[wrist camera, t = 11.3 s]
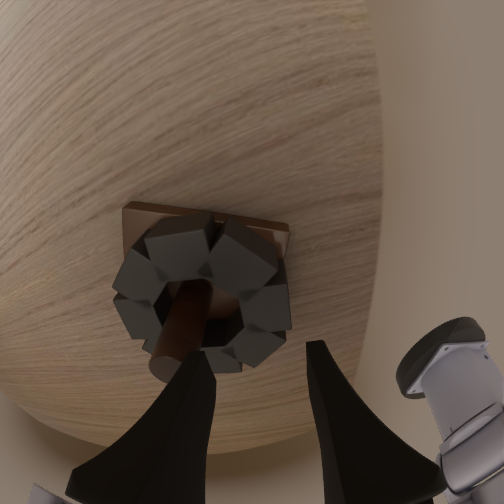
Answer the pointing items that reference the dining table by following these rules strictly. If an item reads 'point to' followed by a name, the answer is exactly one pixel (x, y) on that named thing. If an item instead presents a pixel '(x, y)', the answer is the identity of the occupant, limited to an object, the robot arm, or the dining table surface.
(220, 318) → the peg stand
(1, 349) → the dining table surface
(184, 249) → the ring
